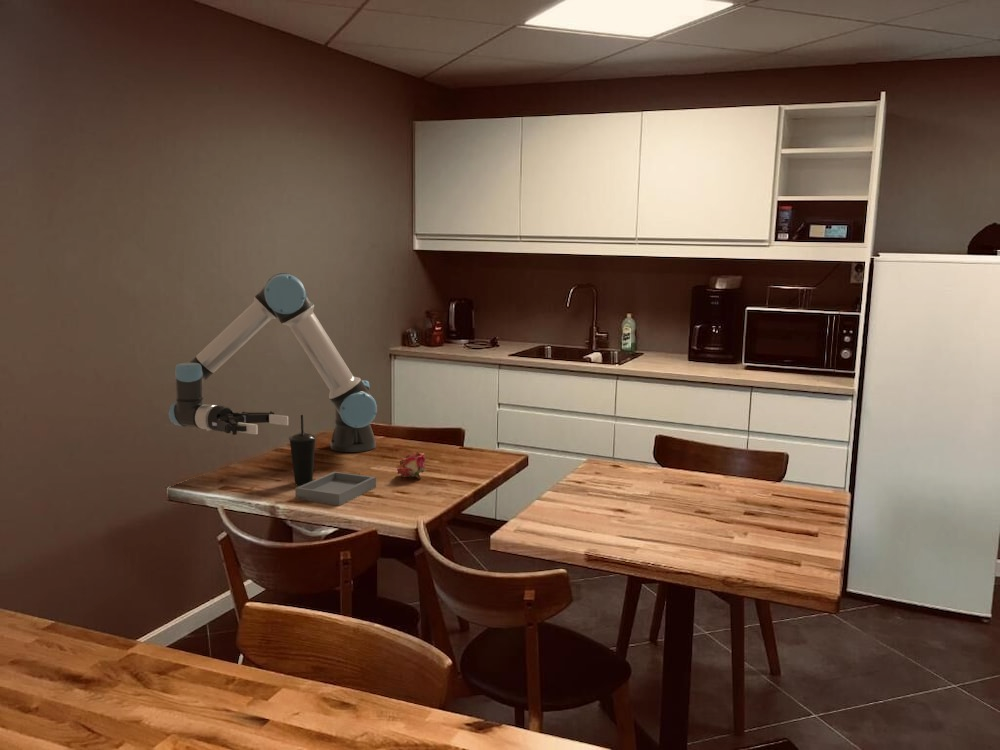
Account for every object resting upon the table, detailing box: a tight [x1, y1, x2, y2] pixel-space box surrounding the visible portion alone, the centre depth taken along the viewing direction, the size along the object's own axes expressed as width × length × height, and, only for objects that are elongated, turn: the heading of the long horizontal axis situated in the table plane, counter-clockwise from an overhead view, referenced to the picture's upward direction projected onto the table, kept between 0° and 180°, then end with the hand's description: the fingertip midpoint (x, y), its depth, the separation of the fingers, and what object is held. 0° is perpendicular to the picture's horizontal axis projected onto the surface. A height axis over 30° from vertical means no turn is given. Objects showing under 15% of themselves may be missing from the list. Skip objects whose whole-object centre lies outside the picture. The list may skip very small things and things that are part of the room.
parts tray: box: [294, 471, 377, 506], centre depth 219 cm, size 18×14×3 cm
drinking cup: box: [288, 414, 317, 486], centre depth 227 cm, size 8×8×20 cm
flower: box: [396, 451, 427, 480], centre depth 234 cm, size 10×9×8 cm
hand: (272, 425), depth 230 cm, fingers open, 13 cm apart
